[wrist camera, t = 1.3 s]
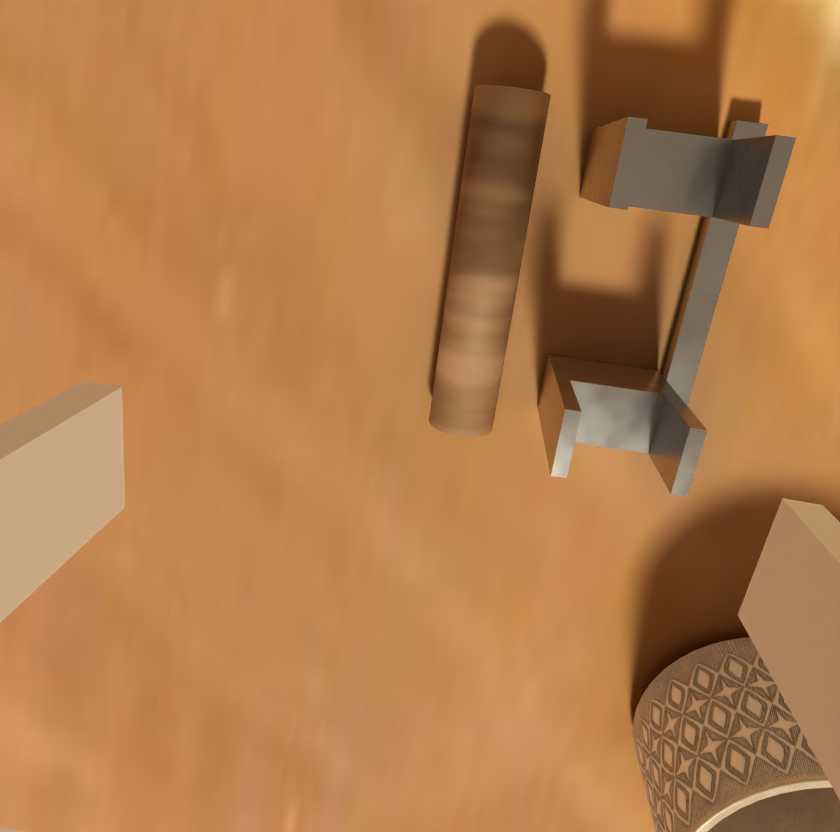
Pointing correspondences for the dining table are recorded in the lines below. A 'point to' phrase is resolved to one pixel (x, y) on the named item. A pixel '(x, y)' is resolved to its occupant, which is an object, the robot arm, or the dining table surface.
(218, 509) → the dining table surface
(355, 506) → the dining table surface
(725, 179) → the bracket
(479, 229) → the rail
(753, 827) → the planter
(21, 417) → the robot arm
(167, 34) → the dining table surface
